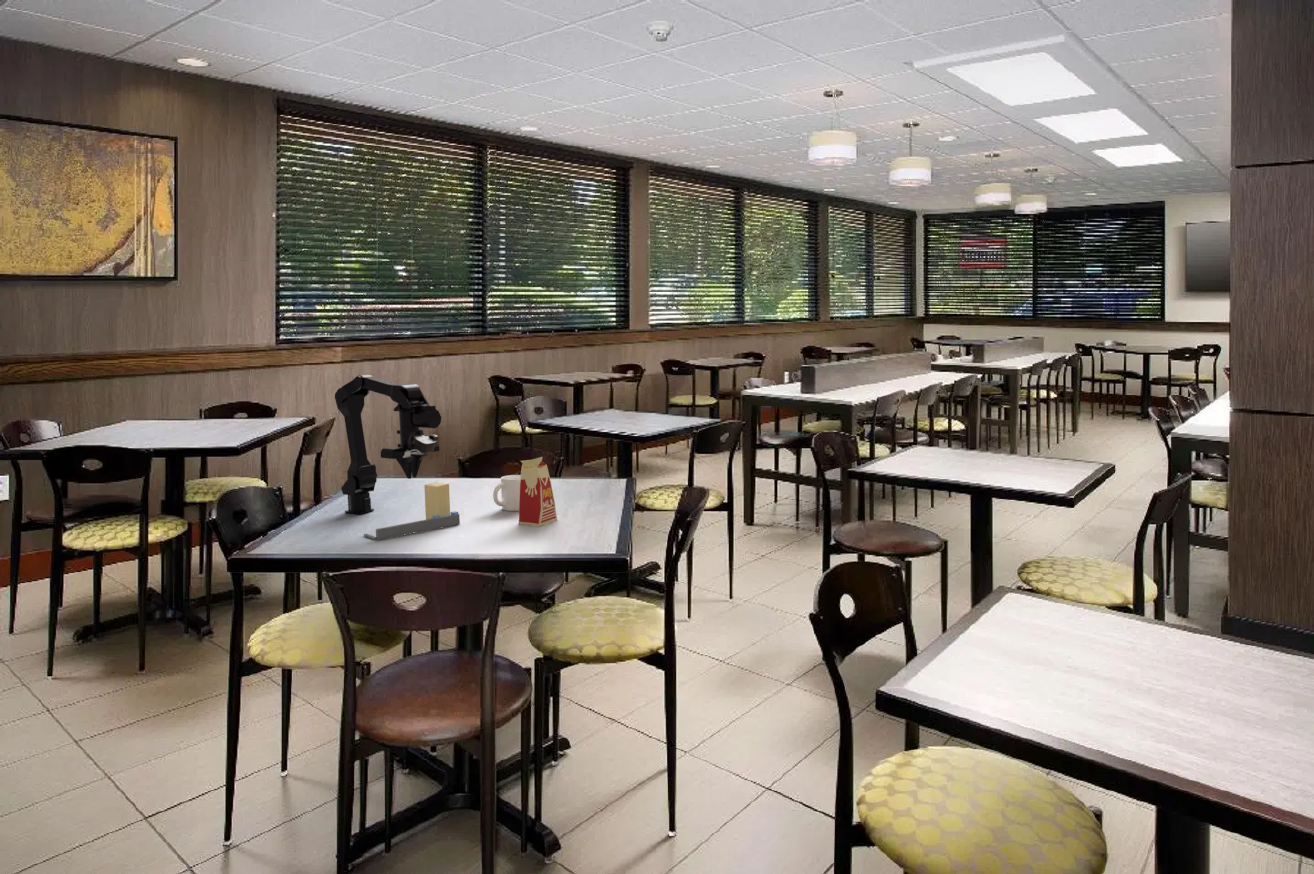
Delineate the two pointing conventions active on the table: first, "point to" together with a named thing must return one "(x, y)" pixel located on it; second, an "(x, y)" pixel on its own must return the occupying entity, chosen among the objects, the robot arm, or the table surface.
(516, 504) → the mug
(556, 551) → the table surface
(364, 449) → the robot arm
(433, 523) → the gray bench frame
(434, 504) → the wooden block
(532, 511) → the milk carton
